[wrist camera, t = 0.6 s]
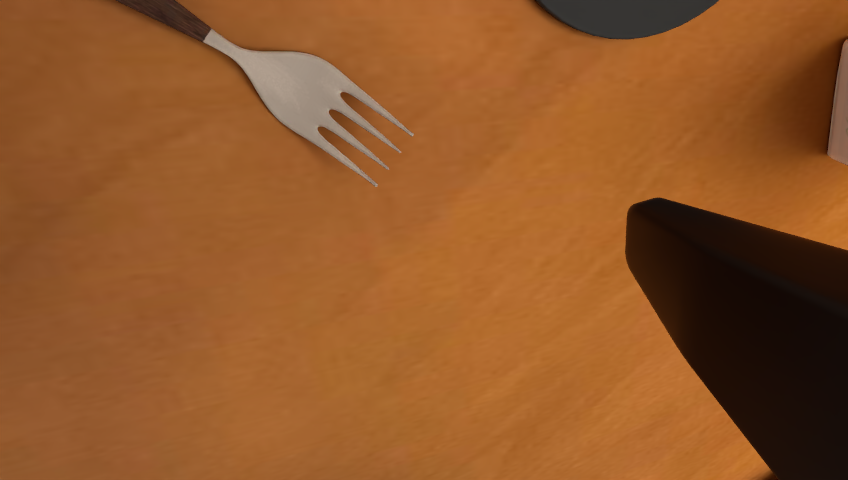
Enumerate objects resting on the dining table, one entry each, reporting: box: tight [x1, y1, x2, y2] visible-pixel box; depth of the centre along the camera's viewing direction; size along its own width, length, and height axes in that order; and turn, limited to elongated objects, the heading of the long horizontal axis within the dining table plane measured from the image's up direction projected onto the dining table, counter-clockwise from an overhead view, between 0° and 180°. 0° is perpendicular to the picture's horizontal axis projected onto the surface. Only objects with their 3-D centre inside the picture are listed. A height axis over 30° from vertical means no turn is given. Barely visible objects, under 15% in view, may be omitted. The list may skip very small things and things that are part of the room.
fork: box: [116, 0, 414, 187], centre depth 18 cm, size 3×16×2 cm, turn 53°
